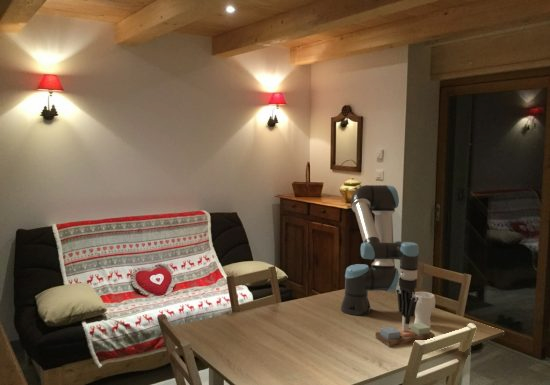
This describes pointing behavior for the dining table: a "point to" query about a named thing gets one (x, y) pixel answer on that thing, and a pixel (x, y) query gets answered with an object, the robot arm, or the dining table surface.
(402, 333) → the cap terracotta
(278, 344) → the dining table surface
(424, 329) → the cap sage
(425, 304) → the cup
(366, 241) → the robot arm
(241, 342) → the dining table surface
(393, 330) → the cap slate
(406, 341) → the button board
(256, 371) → the dining table surface
